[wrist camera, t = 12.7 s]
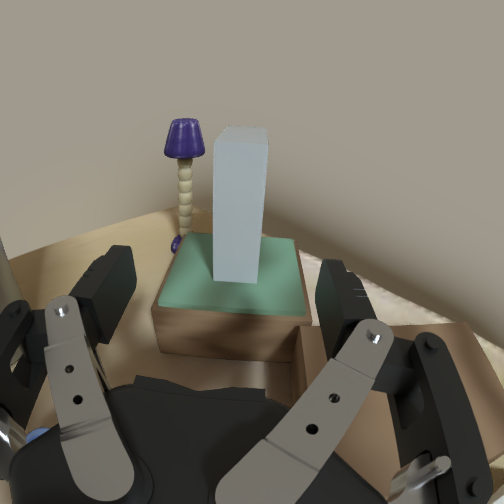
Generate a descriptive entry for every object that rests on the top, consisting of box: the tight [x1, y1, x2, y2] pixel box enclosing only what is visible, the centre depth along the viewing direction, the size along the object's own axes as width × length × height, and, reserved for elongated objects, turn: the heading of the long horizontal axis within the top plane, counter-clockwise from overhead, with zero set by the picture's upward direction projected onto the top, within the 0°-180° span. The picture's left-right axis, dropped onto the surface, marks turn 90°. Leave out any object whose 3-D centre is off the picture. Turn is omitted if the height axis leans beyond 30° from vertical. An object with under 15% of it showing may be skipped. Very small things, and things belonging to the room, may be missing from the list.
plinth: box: [151, 232, 312, 362], centre depth 27 cm, size 12×12×6 cm
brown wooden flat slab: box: [290, 322, 504, 500], centre depth 16 cm, size 16×13×5 cm
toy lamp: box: [164, 118, 205, 254], centre depth 34 cm, size 5×5×17 cm
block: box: [213, 126, 268, 284], centre depth 25 cm, size 4×9×11 cm, turn 178°
